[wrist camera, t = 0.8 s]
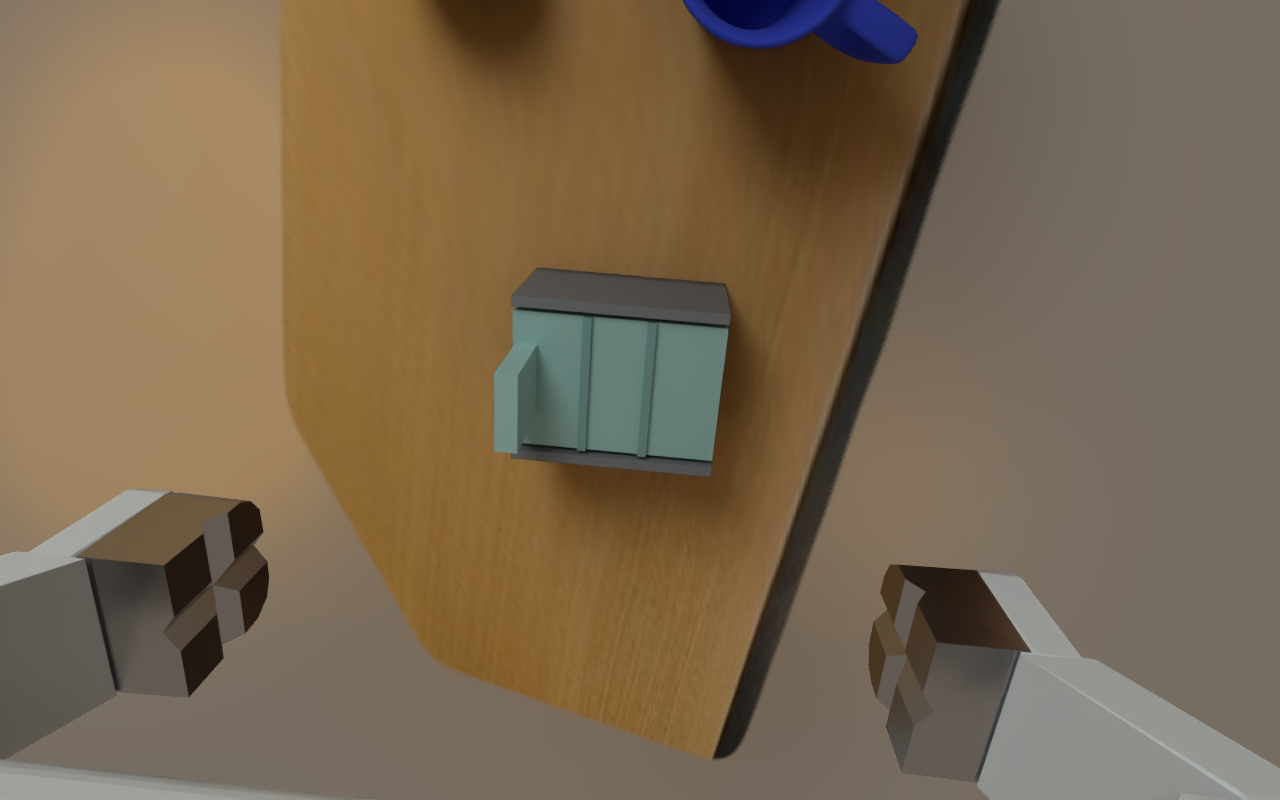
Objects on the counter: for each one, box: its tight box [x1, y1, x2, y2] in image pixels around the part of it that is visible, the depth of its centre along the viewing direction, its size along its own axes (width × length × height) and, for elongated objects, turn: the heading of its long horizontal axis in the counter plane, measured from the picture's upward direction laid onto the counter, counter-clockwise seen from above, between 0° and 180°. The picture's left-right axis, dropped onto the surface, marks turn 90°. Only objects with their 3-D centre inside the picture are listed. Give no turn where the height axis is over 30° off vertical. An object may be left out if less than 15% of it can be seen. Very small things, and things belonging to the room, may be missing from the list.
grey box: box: [511, 268, 731, 477], centre depth 44 cm, size 10×12×7 cm
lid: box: [494, 307, 729, 461], centre depth 39 cm, size 8×12×6 cm
